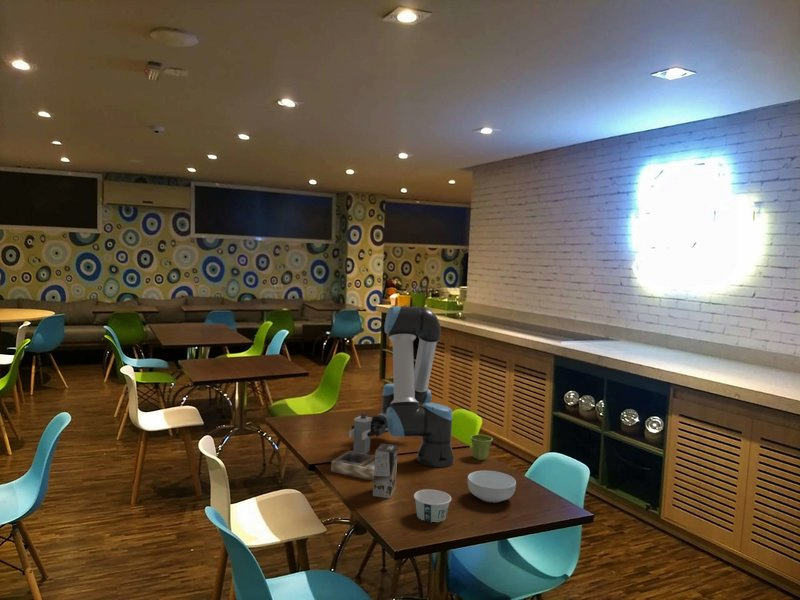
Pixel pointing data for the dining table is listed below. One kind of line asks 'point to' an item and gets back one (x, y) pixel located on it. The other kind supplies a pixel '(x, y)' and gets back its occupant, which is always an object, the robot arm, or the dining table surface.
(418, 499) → the food container
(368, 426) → the grey pepper mill
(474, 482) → the cereal bowl
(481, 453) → the plant pot
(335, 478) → the dining table surface
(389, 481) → the coffee box
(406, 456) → the dining table surface
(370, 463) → the tray
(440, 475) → the dining table surface
